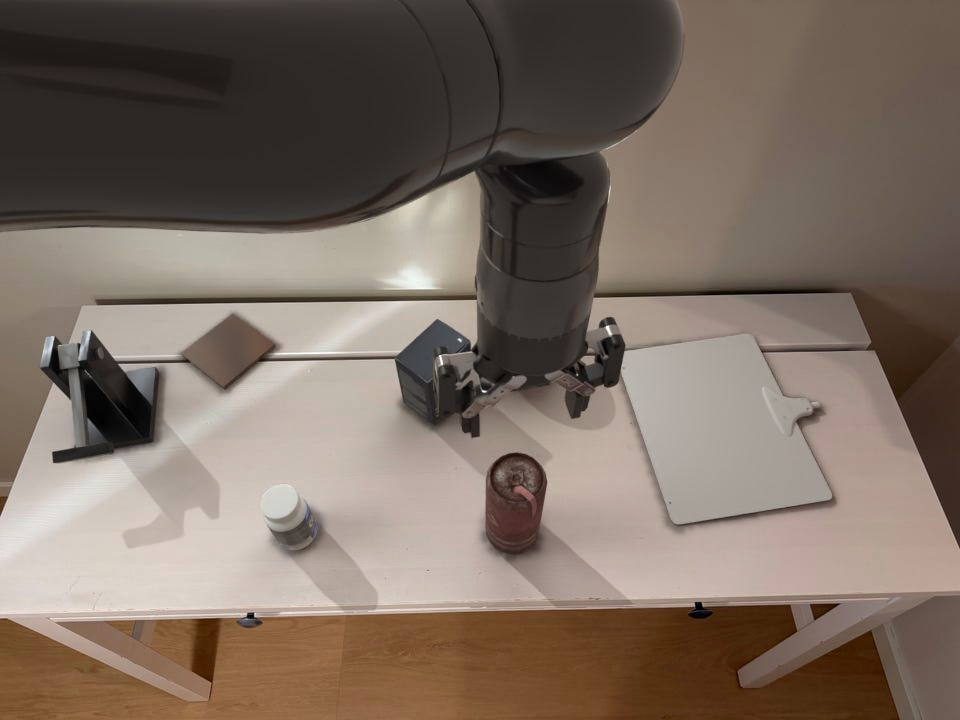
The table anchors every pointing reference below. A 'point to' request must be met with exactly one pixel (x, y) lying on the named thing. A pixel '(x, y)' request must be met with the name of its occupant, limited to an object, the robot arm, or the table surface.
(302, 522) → the pill bottle
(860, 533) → the table surface
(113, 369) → the bracket
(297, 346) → the table surface
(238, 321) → the coaster
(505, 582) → the table surface
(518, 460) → the can
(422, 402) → the box
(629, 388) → the clipboard
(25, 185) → the robot arm
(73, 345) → the lever
